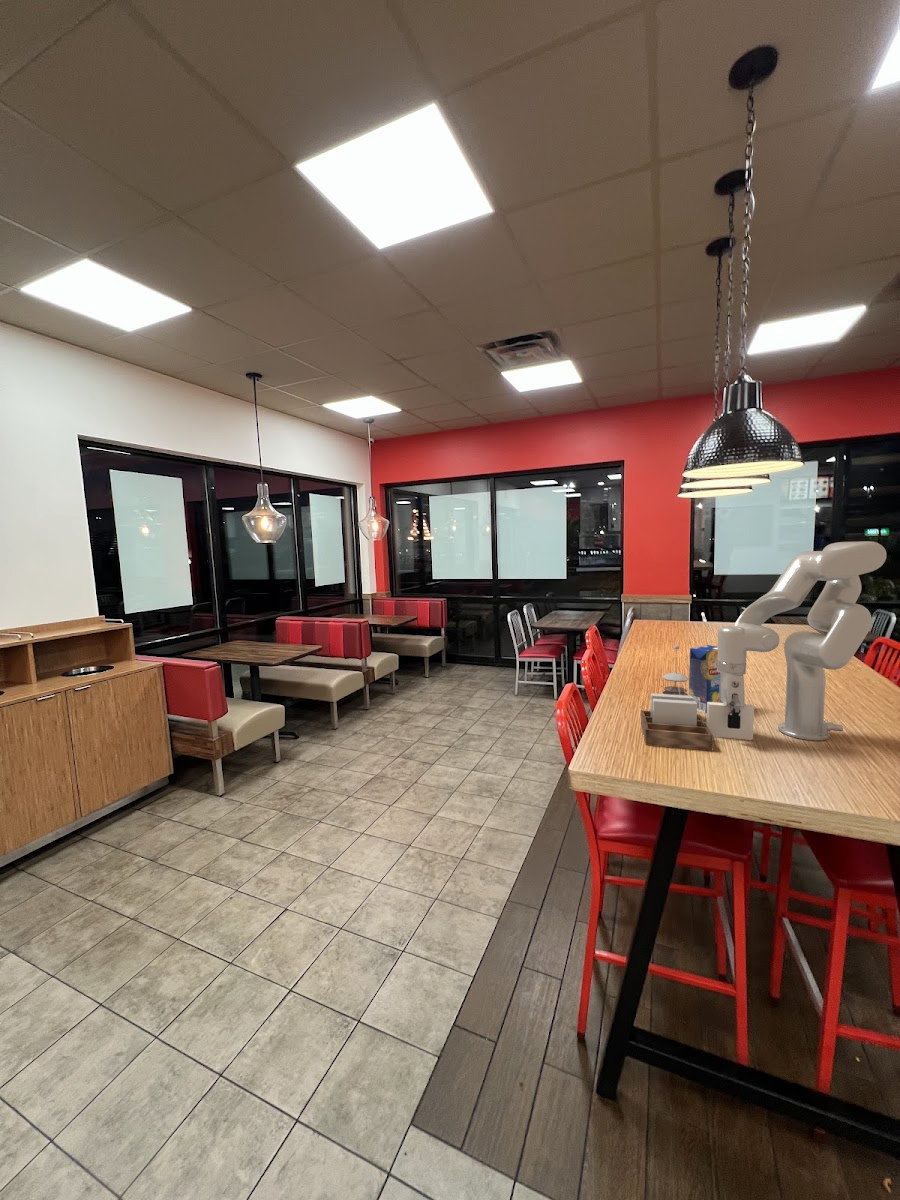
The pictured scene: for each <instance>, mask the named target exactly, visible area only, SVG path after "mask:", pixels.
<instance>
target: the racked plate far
mask: <svg viewBox="0 0 900 1200" xmlns="http://www.w3.org/2000/svg"><path fill="white" fill-rule="evenodd" d="M653 699H667V700H683V701H693V699H694V698H693V697H692V696H689V695H688V696H686V695H670V694H663V693H650V711H651V717H652V715H653Z"/></svg>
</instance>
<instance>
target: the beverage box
mask: <svg viewBox="0 0 900 1200" xmlns="http://www.w3.org/2000/svg"><path fill="white" fill-rule="evenodd" d="M717 654H718V645H717V646H715V645H709V644H706V645H700V646H697V647H692V648H689V673H688V675H689V676H688V696H692V697H693V698H694V699H693V701H695V702H696V703H697V712H700V713H703V714H706V715H707V702H718V703H720V700H721V699H720V697H719V683H720V672H717Z"/></svg>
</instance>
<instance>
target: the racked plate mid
mask: <svg viewBox="0 0 900 1200" xmlns="http://www.w3.org/2000/svg"><path fill="white" fill-rule="evenodd" d="M697 714H698V711H697V703H696V702H695V701H683V700H667V699H653V715H652V723H660V724H672V725H685V726H697Z"/></svg>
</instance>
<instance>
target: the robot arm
mask: <svg viewBox="0 0 900 1200" xmlns="http://www.w3.org/2000/svg"><path fill="white" fill-rule="evenodd" d="M886 560H887V551H886V549H885V547H884V546H883V545H882V544H880V543H878V542H876V541H870V540H869V541H867V540H866V541H840V542H839V541H838V542H834V543H830V544H828V545H826V546H825V547H824V548H823V549H822V550H816V551H815V550H811V551H810V550H809V551H802V552H798V553H797V554H796V555H795V556H793V557H792V559H791V561H789V563H788V565H787V566H786V567H785V569H784V571H782V573H781V575H780V576H779V577H778V579H777V580H776V582H775V583H774V585H773V586H772V588H770V590H769V591H768V592H767V593H764V594H763V596H761V597H759V598H758V599H756V600H755V601H754V602H752V603H751V604H750V605H748V606H747V607H746V608H745V609H744V610H742V612H741V614H740V615H739V617H738V618H737V620H736V621H735V623H734V624H733V625H725V626H721V627H719V629H718V632H717V647H718V654H717V672H720V683H719V697H720V699H721V700H720V703H724V704H725V705H726V706H727V707H728V709H729V714H728V725H727V726H728V728H735V729H740V719H741V713H740V712H741V710H740V707H741V708H743V707H744V706H745V701H746V699H745V698H746V697H745V678H744V675H746V674H747V654H748V653H747V652H755V653H756V652H757V653H767V652H771V651H774V650H775V649H776V648H778V646H779V644H780V642H781V640H780V635H779V634H778V633H777V631H775V630H774V629H772V628H770V627H767V626H763V624H764V623H765V622H766V621H767V620H769V619H770V618H772V617H773V616H775V615H778V614H781V613H785V612H787V611H791V610H793V609H796V608H798V607H799V606H801V604H802V603H803V602H804V600H805V599H806V598H807V595H808V594H809V593H810V592H811V590H812V588H814V586H815V584H816V583H817V582H818V581H822V582H823V581H824V582H825V581H826V582H825V585H824V587H823V589H822V591H821V592H820V593H819V596H818V598H817V599H816V600H815V602H814V604H813V605H812V607H811V609H810V610H809V612H808V615H807V618H806V619H807V623H808V625H809V626H810V628H812V629H815V630H817V631H821V632H825V633H826V634H823V633H819V632H814V631H811V630H810V631H809V630H797V631H794V632H791V633H790V634H789V635H788V636H787V637H786V639H785V641H784V644H783V645H784V647H783V649H784V650H783V651H784V657H785V663H786V686H785V703H784V704H785V705H784V706H785V707H784V708H785V709H784V722H782V723H780V724H778V727H777V728H778V731H779V732H781V733H782V734H784V735H787V736H789V737H792V738H797V739H800V740H807V741H824V740H828V739H829V738H830V733H829V732H831V731H834V732H843V731H844V727H843V725H842V724H835V723H834V722H828V721H827V722H826V720H824V716H825V715H824V714H825V699H826V698H825V697H826V683H827V682H826V680H827V679H826V673H825V670H824V669H826V670H832V671H833V670H834V671H835V670H836V671H837V670H840V669H842V668H843V667H845V666H846V665H847V664H849V662H850V661H851V660H852V659H853V657H854V655H855V654H856V653H857V650H858V649H859V647H860V646H861V644H862V643H863V641H864V640H865V638H866V636H867V635H868V633H869V632H870V629H871V626H872V620H873V619H872V614H871V612H870V611H869V610H868V608H866V607H865V606H864V605H862V604H858V603H856V602H857V601H858V599H859V597H860V594H861V593H862V582H861V579H860V576H861V575H864V574H867V573H871V572H874V571H876V570H878V569H879V568H881V567H882V566H883V564H884V563H885V562H886ZM731 704H734V705H731ZM731 708H733V709H731Z"/></svg>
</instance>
